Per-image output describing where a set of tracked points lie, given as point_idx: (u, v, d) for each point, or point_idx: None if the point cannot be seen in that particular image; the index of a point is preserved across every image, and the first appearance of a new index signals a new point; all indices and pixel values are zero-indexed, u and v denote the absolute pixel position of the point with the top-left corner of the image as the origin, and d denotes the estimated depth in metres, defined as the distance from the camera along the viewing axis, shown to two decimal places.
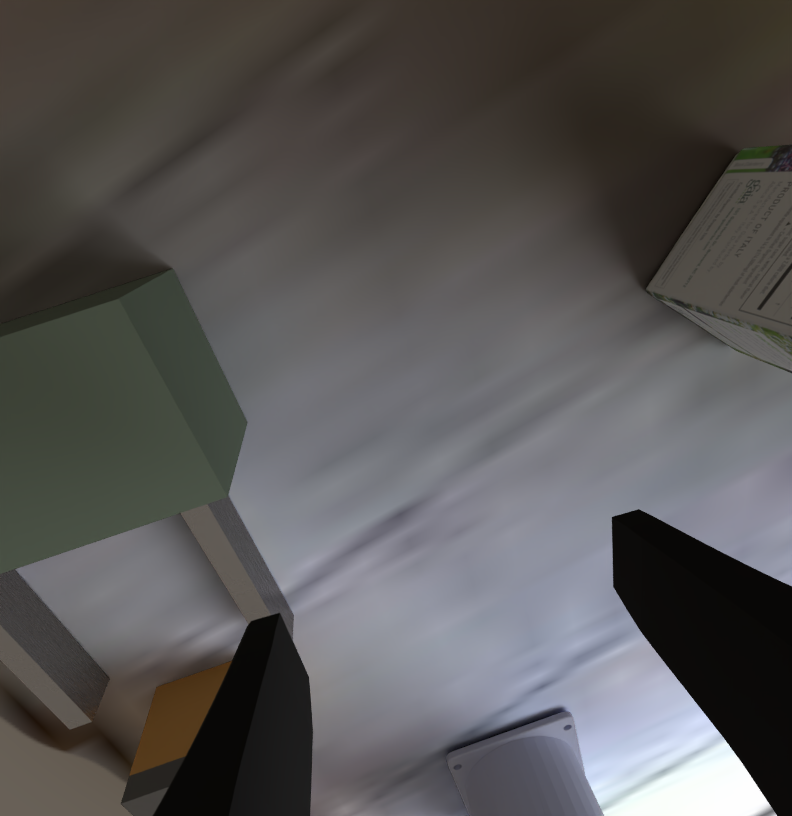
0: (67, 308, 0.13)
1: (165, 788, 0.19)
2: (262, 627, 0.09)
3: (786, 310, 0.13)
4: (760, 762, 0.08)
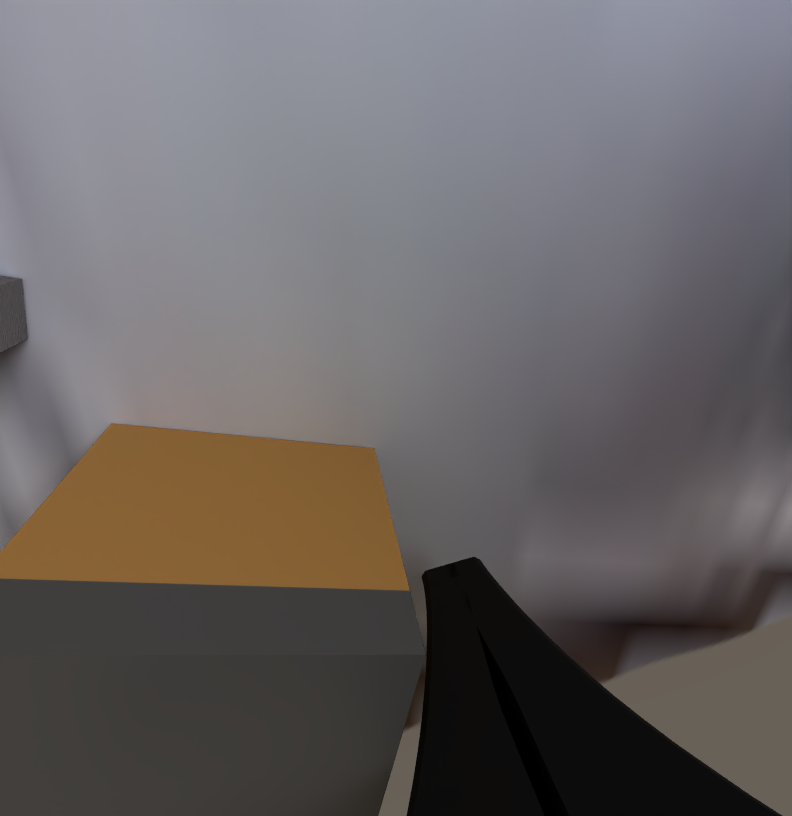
0: None
1: None
2: (444, 575, 0.09)
3: None
4: None
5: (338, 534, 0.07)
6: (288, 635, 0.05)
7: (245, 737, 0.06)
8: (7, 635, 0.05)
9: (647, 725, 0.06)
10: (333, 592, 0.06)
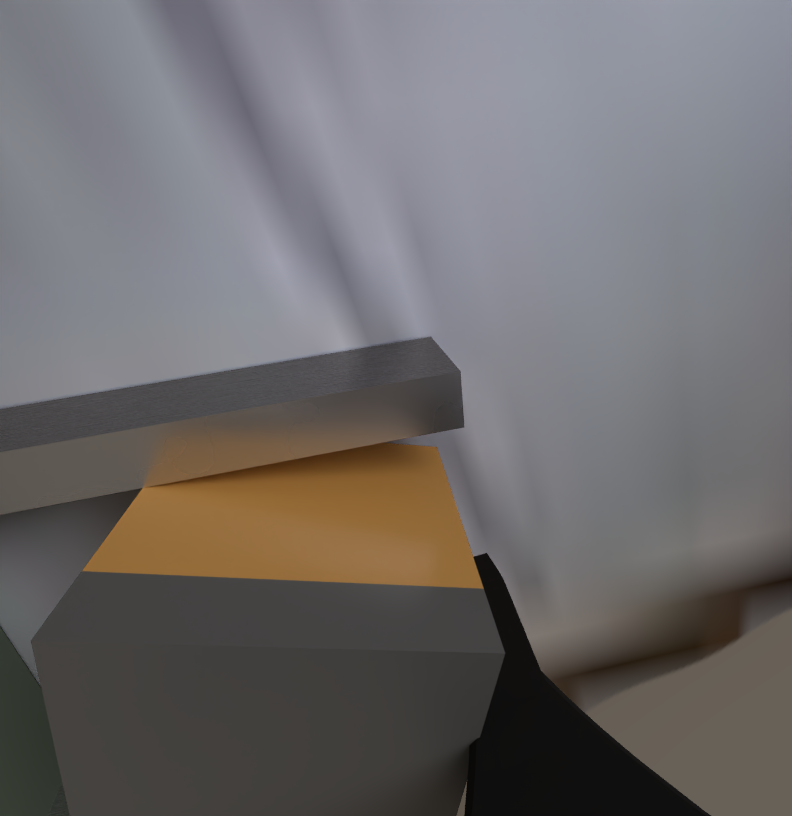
0: None
1: None
2: (478, 565, 0.09)
3: None
4: None
5: (407, 532, 0.07)
6: (367, 630, 0.06)
7: (327, 729, 0.06)
8: (111, 624, 0.05)
9: (608, 738, 0.06)
10: (407, 589, 0.06)
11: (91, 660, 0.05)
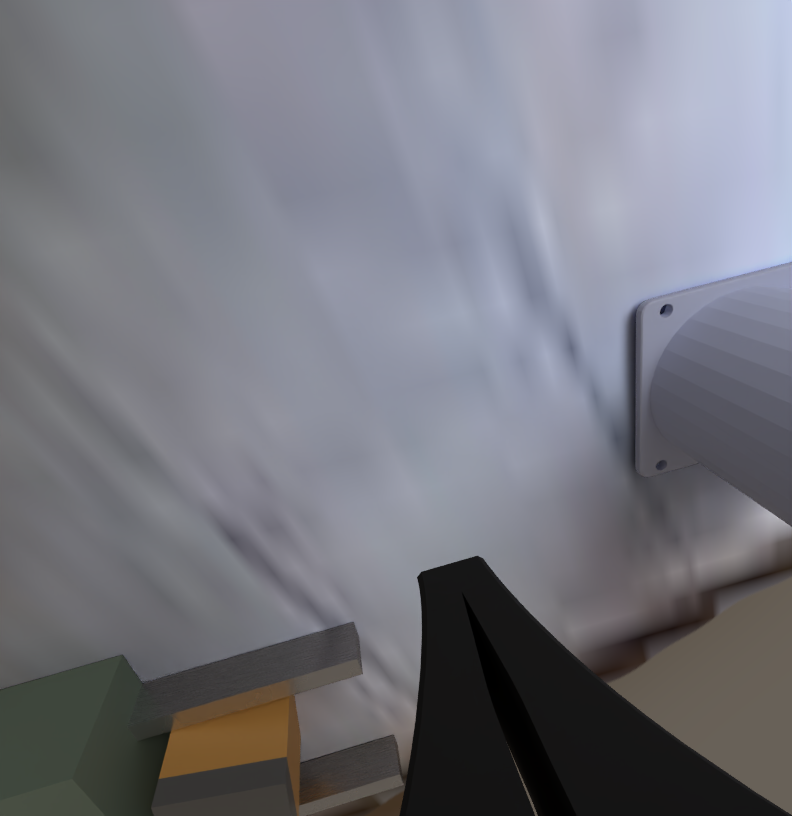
0: None
1: None
2: (439, 577, 0.09)
3: None
4: None
5: (266, 733, 0.21)
6: (245, 783, 0.19)
7: (240, 812, 0.19)
8: (171, 798, 0.19)
9: (653, 723, 0.06)
10: (261, 762, 0.20)
11: (167, 809, 0.18)
